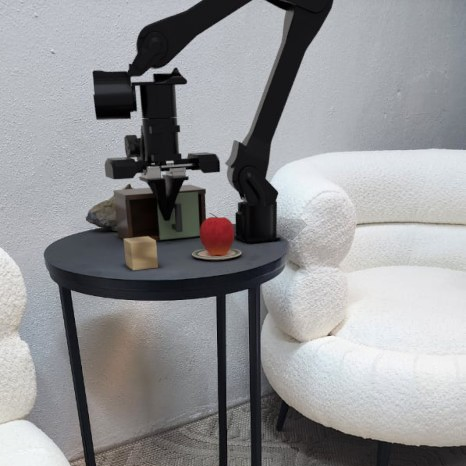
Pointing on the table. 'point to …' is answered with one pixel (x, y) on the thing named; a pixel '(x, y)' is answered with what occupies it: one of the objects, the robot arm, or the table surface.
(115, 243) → the table surface
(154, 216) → the cabinet
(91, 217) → the rock
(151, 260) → the block
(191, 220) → the sliding door
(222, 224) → the apple
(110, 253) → the table surface
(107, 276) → the table surface
